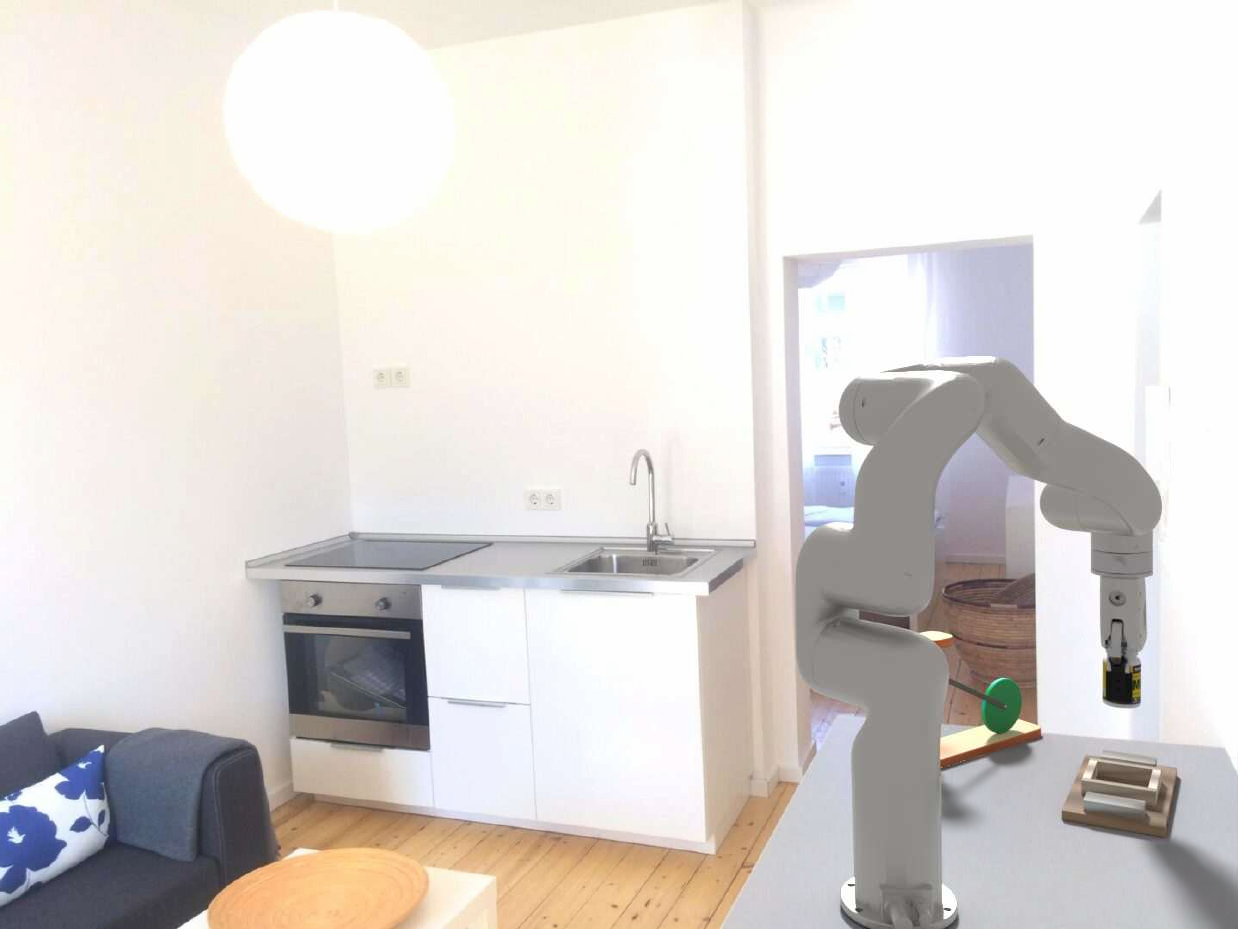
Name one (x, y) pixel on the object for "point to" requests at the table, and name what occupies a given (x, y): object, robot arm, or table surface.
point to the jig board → (1122, 793)
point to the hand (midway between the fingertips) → (1121, 693)
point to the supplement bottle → (1136, 670)
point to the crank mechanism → (986, 718)
